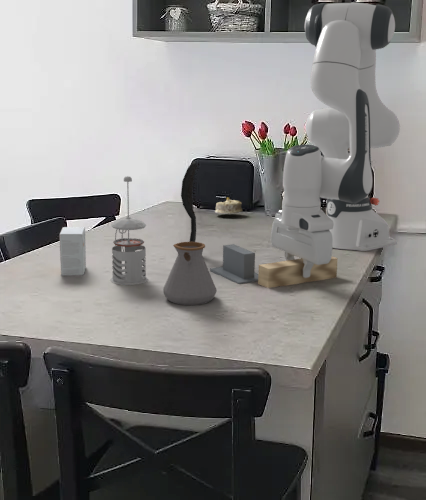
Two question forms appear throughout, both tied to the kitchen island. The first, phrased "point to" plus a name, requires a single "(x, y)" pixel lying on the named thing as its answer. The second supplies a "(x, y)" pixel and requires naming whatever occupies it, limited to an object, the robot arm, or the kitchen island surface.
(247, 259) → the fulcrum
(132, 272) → the french press
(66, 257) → the small box
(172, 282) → the coffee pot
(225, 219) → the kitchen island surface
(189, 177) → the black curved piece
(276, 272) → the oak bar
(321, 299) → the kitchen island surface
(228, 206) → the cake
